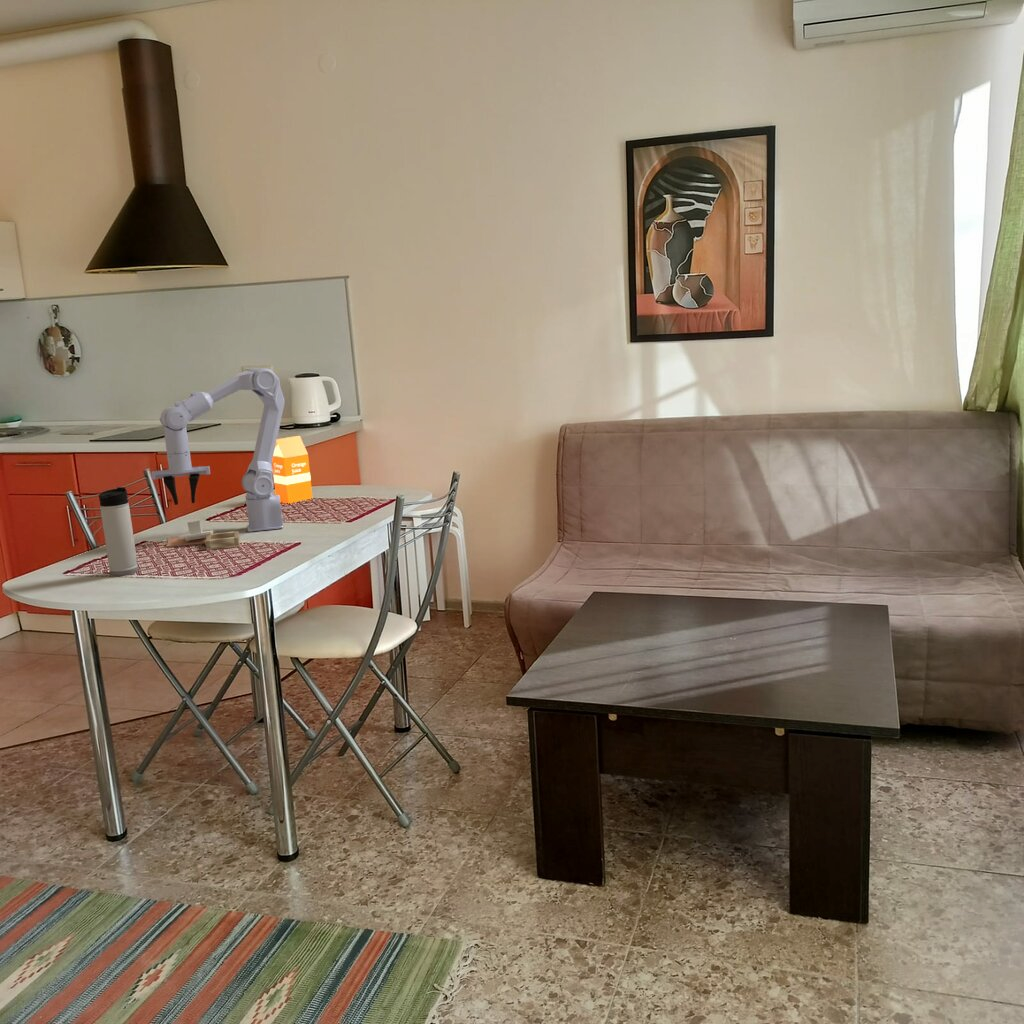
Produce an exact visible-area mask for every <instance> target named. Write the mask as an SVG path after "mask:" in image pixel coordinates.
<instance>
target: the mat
mask: <svg viewBox="0 0 1024 1024" xmlns="http://www.w3.org/2000/svg"><path fill="white" fill-rule="evenodd" d="M211 534H213V533H211ZM179 536H180V535H176V536H169V538H168V541H167V543H166V546H165V547H166V548H174V547H176V548H177V547H182V546H193V545H202V544H206V538H200V539H194V540H188V541H185V538H182V539H179Z"/></svg>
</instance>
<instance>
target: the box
mask: <svg viewBox="0 0 1024 1024" xmlns="http://www.w3.org/2000/svg"><path fill="white" fill-rule="evenodd" d="M239 533H240V532H239V530H237V531H228V532H218V533H212V534H208V535H207V537H206V543H205V547H206V551H211V550H212V551H213V550H221V549H229V548H237V547H238V548H240V534H239Z"/></svg>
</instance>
